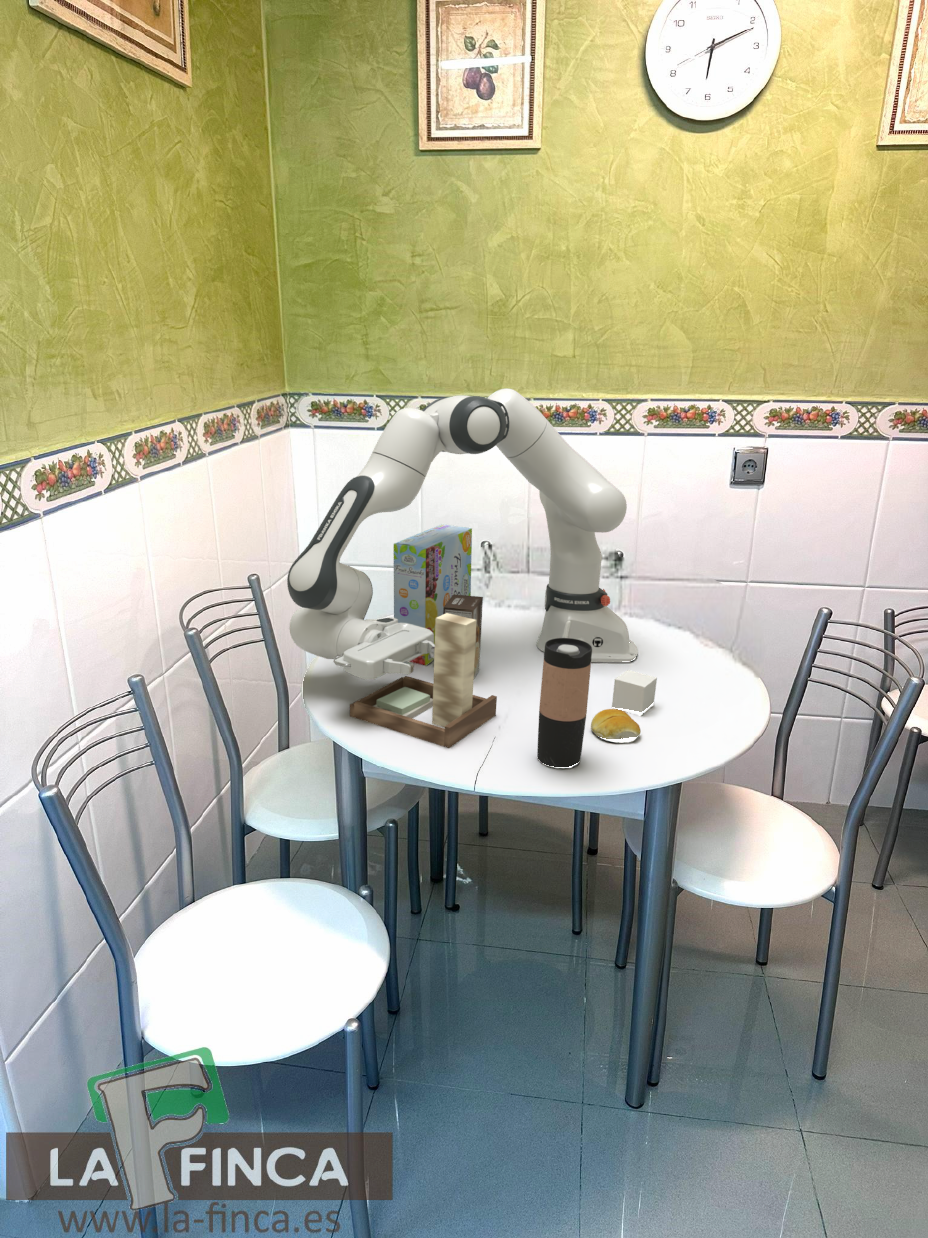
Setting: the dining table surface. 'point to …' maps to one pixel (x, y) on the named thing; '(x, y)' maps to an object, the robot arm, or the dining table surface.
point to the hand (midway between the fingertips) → (426, 661)
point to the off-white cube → (634, 691)
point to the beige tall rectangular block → (453, 667)
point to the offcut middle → (415, 711)
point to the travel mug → (563, 701)
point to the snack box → (430, 575)
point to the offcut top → (403, 700)
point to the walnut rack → (431, 733)
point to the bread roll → (614, 725)
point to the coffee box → (468, 609)
